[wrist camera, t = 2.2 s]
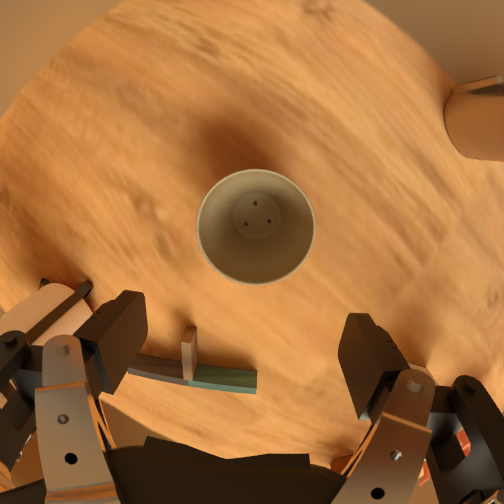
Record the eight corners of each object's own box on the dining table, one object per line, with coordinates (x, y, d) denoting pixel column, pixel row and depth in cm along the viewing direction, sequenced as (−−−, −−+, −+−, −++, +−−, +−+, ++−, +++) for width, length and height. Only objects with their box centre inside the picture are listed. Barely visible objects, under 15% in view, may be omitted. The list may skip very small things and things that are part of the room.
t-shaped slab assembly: (129, 316, 34) (118, 330, 31) (262, 334, 34) (261, 351, 30) (136, 358, 36) (128, 373, 33) (256, 377, 36) (255, 394, 33)
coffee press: (57, 240, 31) (-110, 346, 3) (132, 322, 34) (15, 504, 6) (26, 305, 35) (-79, 400, 7) (86, 369, 38) (5, 493, 10)
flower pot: (291, 267, 31) (298, 295, 24) (204, 248, 31) (188, 272, 24) (313, 180, 28) (329, 185, 21) (221, 159, 28) (207, 157, 21)
